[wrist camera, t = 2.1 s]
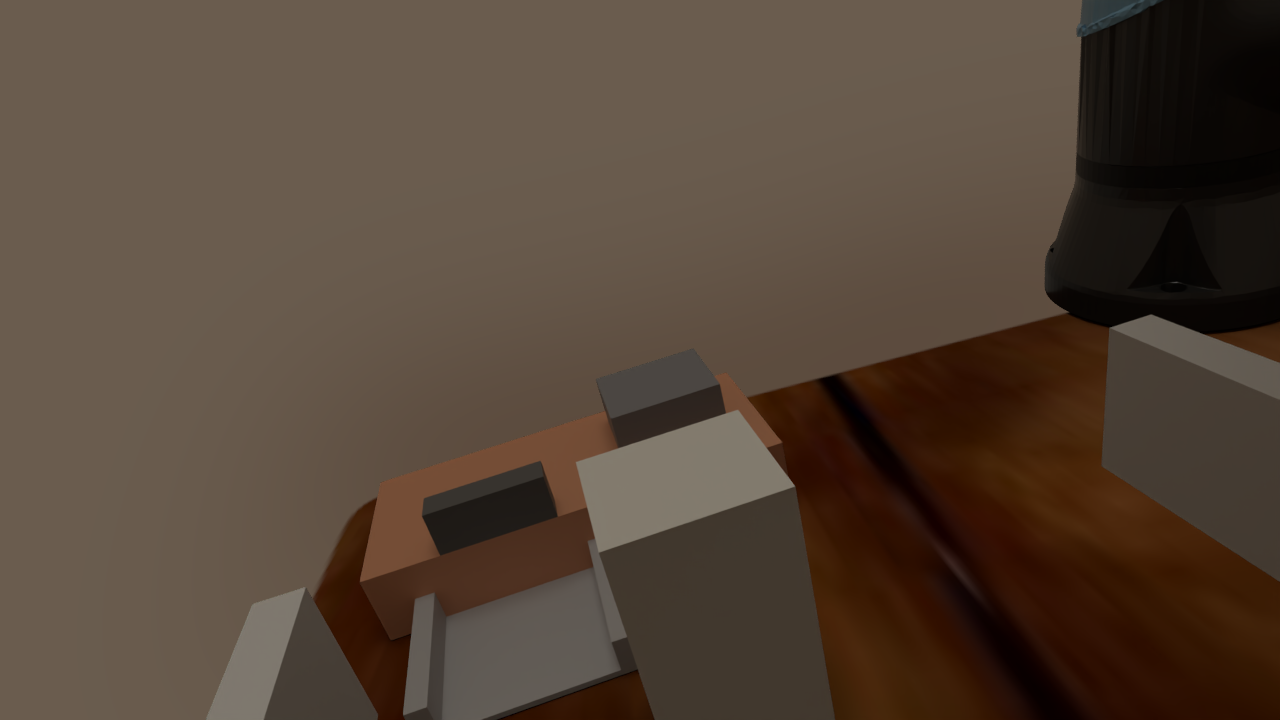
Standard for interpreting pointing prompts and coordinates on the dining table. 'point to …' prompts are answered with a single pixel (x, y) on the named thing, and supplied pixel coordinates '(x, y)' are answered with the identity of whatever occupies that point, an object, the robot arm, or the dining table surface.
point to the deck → (522, 552)
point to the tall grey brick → (710, 574)
